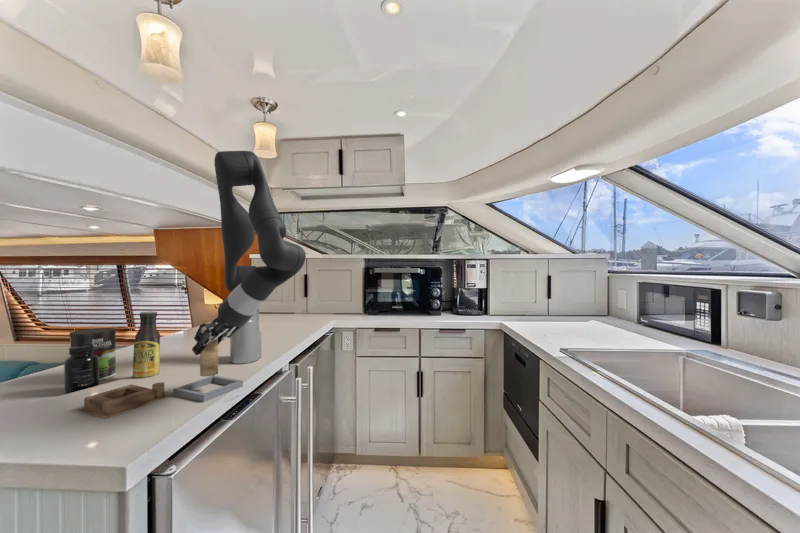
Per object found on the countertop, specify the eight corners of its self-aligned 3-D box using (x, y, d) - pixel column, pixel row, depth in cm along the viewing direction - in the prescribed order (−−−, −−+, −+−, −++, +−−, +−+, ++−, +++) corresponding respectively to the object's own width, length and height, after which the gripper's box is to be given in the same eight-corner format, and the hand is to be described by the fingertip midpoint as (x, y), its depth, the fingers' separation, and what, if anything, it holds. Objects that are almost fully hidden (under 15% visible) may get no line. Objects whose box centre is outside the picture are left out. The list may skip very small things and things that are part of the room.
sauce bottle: (128, 384, 95) (127, 314, 95) (139, 377, 101) (138, 311, 101) (155, 382, 96) (154, 313, 96) (164, 375, 102) (163, 310, 102)
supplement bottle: (64, 390, 90) (64, 345, 90) (98, 384, 95) (98, 341, 95) (64, 397, 86) (63, 350, 86) (100, 390, 90) (99, 345, 90)
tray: (213, 386, 93) (213, 375, 93) (242, 392, 89) (242, 380, 89) (173, 400, 83) (173, 388, 83) (203, 408, 79) (203, 395, 79)
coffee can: (120, 376, 102) (120, 329, 102) (73, 386, 94) (73, 335, 94) (111, 370, 108) (111, 326, 108) (66, 378, 100) (66, 331, 100)
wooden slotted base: (146, 394, 87) (145, 377, 87) (173, 400, 83) (173, 382, 83) (77, 416, 75) (76, 396, 75) (105, 425, 70) (104, 404, 70)
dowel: (211, 370, 88) (210, 321, 88) (221, 372, 87) (221, 322, 87) (196, 375, 85) (196, 323, 85) (207, 377, 83) (207, 324, 83)
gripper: (252, 290, 91) (214, 333, 94) (211, 295, 77) (168, 345, 80) (269, 310, 90) (231, 354, 92) (231, 318, 76) (187, 369, 79)
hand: (202, 349), depth 86 cm, fingers closed on dowel, 4 cm apart
